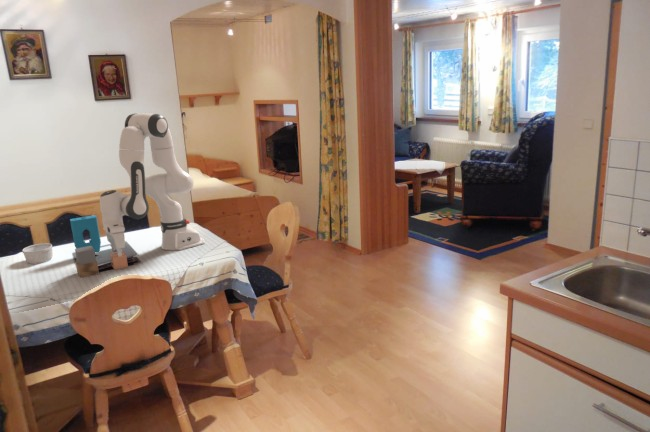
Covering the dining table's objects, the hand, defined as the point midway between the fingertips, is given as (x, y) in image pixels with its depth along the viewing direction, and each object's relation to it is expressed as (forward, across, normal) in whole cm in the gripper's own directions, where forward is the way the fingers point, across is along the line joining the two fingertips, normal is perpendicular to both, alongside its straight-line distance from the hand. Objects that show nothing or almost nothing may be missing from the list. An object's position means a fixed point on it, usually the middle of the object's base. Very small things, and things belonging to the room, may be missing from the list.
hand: (117, 253), depth 242 cm
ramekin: (+6, -39, -30) cm, 50 cm away
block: (+6, -29, -8) cm, 30 cm away
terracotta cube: (+7, -1, +1) cm, 7 cm away
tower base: (+7, -2, -14) cm, 15 cm away
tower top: (+1, -1, -13) cm, 13 cm away
